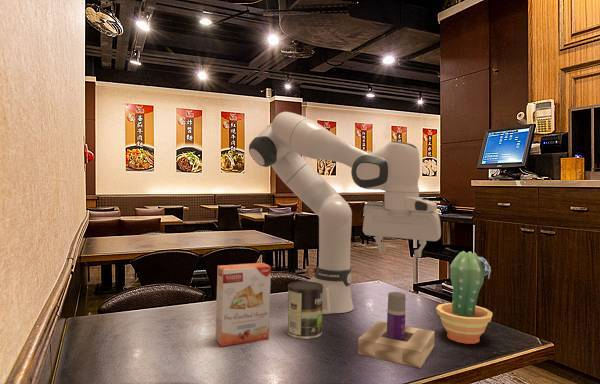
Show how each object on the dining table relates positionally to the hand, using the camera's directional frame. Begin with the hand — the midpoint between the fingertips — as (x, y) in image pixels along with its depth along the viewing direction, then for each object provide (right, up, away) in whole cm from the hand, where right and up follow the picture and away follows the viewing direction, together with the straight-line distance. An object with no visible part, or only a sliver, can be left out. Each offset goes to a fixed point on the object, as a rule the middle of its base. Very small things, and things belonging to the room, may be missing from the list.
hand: (399, 255), depth 110 cm
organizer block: (-1, -25, +1) cm, 25 cm away
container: (-1, -26, 0) cm, 26 cm away
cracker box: (-42, -25, +6) cm, 49 cm away
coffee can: (-25, -25, +12) cm, 37 cm away
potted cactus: (+21, -26, +10) cm, 35 cm away
